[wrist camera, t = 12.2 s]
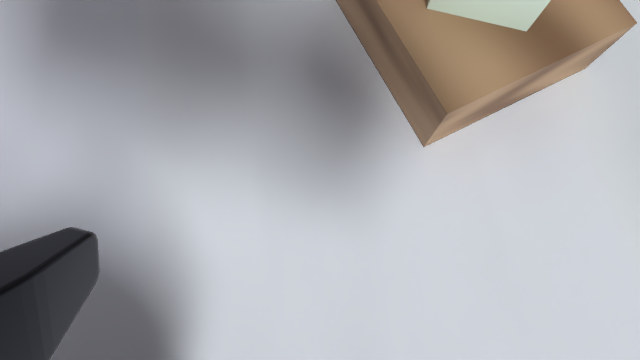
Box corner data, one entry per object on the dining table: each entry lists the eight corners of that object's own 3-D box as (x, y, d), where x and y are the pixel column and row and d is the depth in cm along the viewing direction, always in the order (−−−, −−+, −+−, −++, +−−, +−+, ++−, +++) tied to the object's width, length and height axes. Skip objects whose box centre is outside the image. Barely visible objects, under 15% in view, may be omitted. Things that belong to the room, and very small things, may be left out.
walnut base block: (423, 146, 23) (447, 113, 19) (331, -7, 25) (336, -64, 21) (585, 68, 24) (637, 22, 21) (484, -70, 27) (513, -134, 23)
